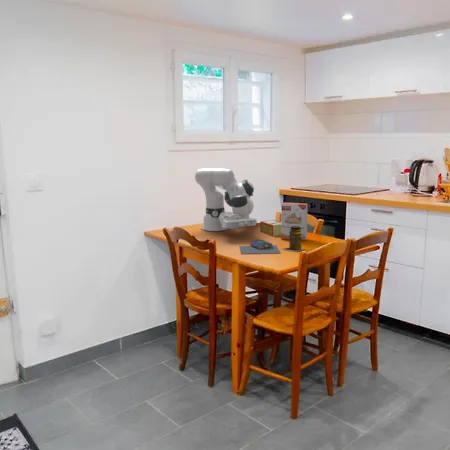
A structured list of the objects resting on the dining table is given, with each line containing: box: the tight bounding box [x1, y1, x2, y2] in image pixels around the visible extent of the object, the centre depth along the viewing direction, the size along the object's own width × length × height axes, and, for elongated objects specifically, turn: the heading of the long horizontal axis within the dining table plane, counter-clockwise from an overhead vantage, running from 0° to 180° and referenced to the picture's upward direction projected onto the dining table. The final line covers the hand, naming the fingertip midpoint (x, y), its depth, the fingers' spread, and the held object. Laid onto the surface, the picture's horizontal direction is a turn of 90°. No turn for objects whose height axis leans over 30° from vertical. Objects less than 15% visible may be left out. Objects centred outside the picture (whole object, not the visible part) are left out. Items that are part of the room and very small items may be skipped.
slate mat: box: [239, 244, 282, 255], centre depth 247 cm, size 17×20×1 cm
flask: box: [249, 239, 274, 249], centre depth 252 cm, size 9×3×11 cm
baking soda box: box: [259, 219, 281, 237], centre depth 288 cm, size 10×6×16 cm
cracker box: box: [280, 202, 309, 242], centre depth 269 cm, size 14×6×21 cm, turn 70°
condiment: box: [283, 226, 305, 252], centre depth 246 cm, size 7×8×12 cm
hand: (245, 225), depth 266 cm, fingers closed
